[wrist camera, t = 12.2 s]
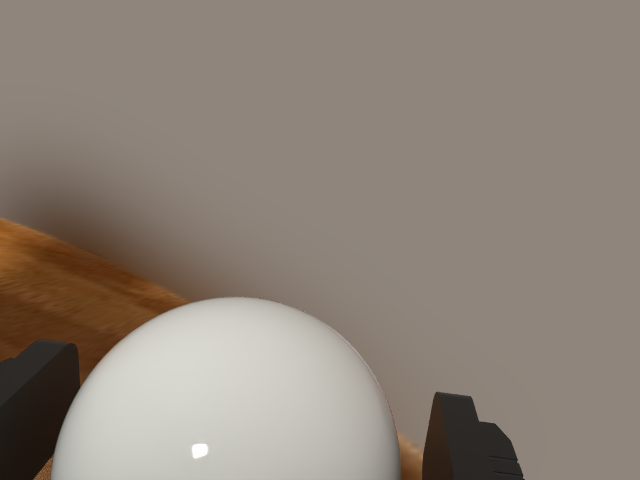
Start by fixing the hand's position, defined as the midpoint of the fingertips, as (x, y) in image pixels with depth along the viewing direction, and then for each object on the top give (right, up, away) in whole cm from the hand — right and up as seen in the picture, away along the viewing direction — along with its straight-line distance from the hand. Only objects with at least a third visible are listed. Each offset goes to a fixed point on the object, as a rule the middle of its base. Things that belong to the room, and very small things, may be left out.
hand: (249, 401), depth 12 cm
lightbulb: (-1, -8, +1) cm, 8 cm away
